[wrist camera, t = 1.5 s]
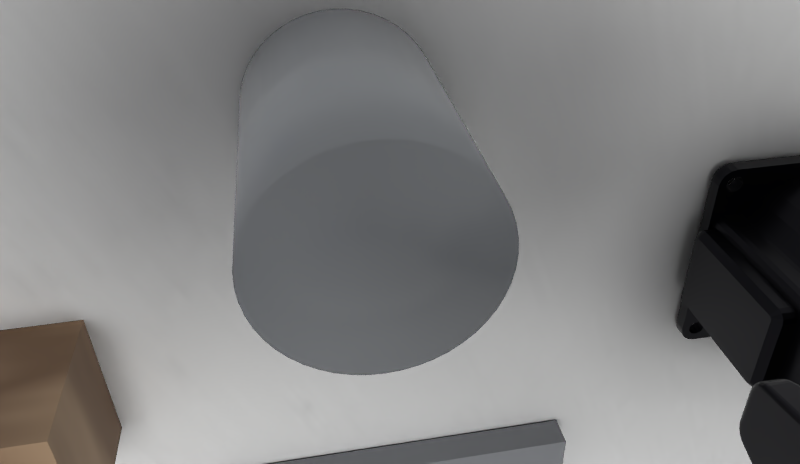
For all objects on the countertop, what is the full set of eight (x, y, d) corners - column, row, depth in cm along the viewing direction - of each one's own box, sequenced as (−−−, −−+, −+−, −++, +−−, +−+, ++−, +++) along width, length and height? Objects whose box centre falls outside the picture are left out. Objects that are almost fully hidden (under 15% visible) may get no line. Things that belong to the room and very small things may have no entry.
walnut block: (84, 318, 21) (47, 441, 17) (122, 425, 23) (97, 553, 19) (-85, 339, 20) (-161, 472, 16) (-27, 446, 22) (-82, 582, 19)
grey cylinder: (436, 1, 17) (528, 124, 11) (436, 183, 20) (510, 355, 14) (224, 17, 17) (208, 156, 11) (254, 202, 19) (254, 391, 14)
